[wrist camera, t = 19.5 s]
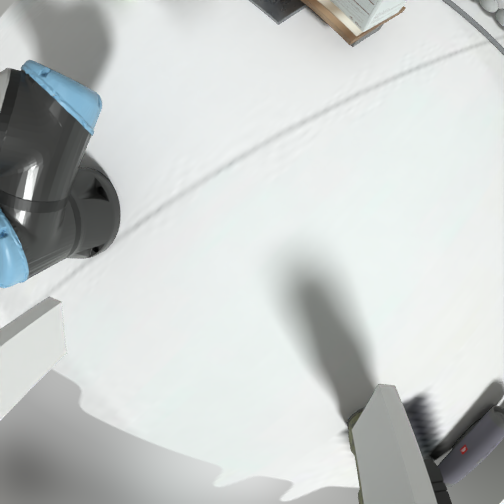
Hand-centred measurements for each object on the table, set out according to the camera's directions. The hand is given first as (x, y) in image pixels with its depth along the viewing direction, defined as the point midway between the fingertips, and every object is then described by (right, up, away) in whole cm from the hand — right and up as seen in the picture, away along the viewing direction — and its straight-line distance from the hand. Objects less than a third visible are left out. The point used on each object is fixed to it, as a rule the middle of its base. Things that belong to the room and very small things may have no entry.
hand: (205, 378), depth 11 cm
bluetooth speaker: (+56, -41, +42) cm, 81 cm away
